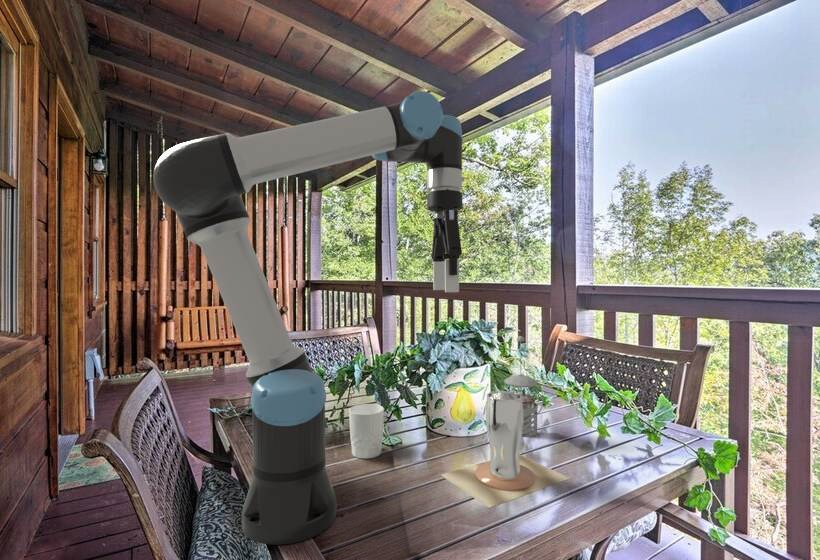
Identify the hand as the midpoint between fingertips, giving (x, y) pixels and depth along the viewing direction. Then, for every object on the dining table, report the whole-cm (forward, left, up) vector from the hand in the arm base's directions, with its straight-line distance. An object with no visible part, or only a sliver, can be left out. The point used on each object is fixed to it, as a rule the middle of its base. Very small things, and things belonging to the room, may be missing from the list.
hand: (445, 291), depth 93 cm
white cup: (-17, +7, -37) cm, 41 cm away
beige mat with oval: (+9, -12, -37) cm, 39 cm away
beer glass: (+9, -12, -35) cm, 38 cm away
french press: (+22, +12, -37) cm, 45 cm away
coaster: (+9, -12, -35) cm, 38 cm away
